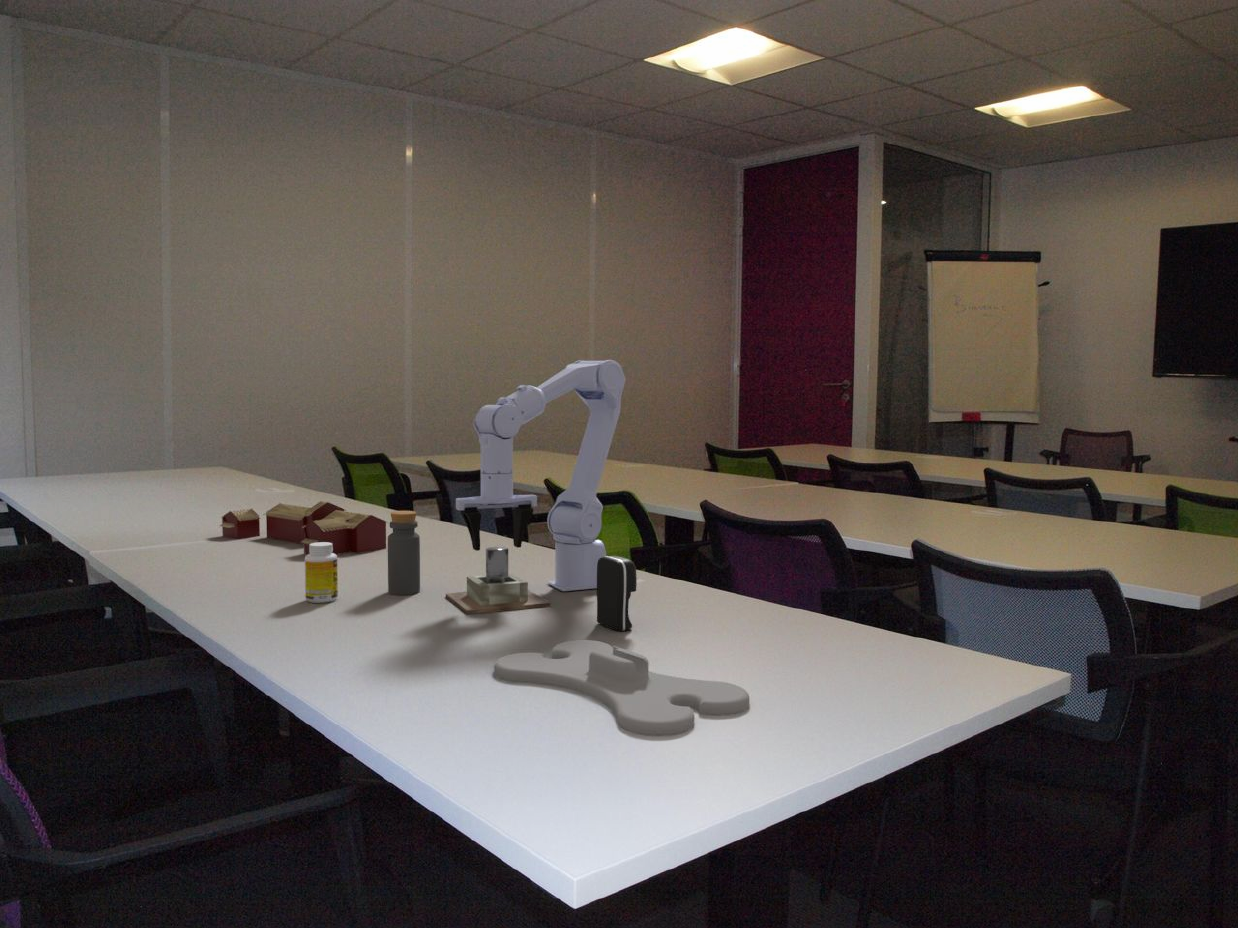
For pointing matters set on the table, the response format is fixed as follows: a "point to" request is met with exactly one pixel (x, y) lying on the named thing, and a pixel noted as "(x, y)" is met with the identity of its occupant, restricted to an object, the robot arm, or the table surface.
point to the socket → (496, 596)
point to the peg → (496, 565)
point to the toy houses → (311, 527)
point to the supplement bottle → (321, 573)
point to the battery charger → (615, 591)
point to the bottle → (403, 554)
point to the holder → (625, 686)
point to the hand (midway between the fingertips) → (497, 548)
